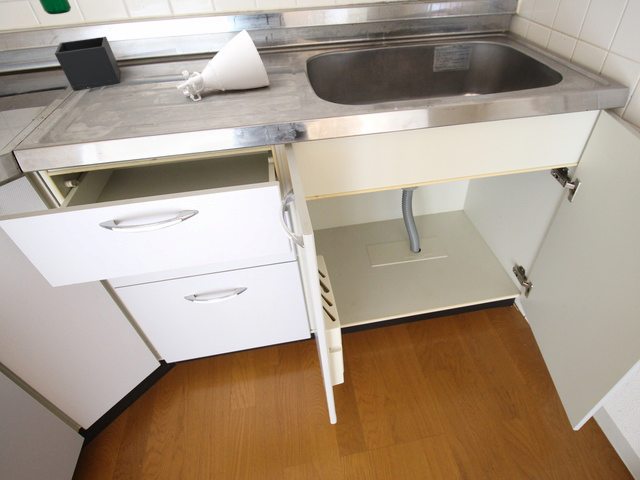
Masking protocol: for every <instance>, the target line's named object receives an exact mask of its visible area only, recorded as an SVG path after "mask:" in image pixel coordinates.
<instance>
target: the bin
mask: <svg viewBox="0 0 640 480" xmlns="http://www.w3.org/2000/svg"><path fill="white" fill-rule="evenodd" d="M54 56H55V57H56V59H57V61H58V64H59V65H60V67H61V69H62V71H63V73H64V75H65V77H66V80H67V81H68V84H69V85H70V87H71V89H72V91H74V90H75V91H77V90H76V89H81V88H87V87H90V88H89V89H93V88H99V87H104V86H110V85H117V84H120V83H121V69H120V67H119V64H118V62H117V59H116V56H115V54H114V52H113V50H112V47H111V45H110V43H109V40H108V38H107V36H101V37H94V38H86V39H79V40H70V41H62V42H59V44H58V46H57V48H56V50H55V52H54ZM87 89H88V88H87ZM81 90H82V89H81Z"/></svg>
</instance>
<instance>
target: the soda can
mask: <svg viewBox="0 0 640 480" xmlns="http://www.w3.org/2000/svg"><path fill="white" fill-rule="evenodd" d="M38 1H39V4H40V5H41V8H42V10H43V11H44V12H45V13H46V14H48V15H62V14H67V13H69V12H70V11H71V9H72V5H71V4H70V2H69V0H38Z"/></svg>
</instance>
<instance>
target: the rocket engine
mask: <svg viewBox="0 0 640 480" xmlns="http://www.w3.org/2000/svg"><path fill="white" fill-rule="evenodd" d="M253 41H254V40H253V39H252V37H251V36H250V34H249V32H248V30H246V29H242V30H241V31H239V32H238V33H237V34H236V35H235V36H233V37H232V38H231V39H230V40H229V41H228V42H226V44H225V45H223V47H222V48H221V49H219V51H218V52H217V53H216V54H215V55H214V56H213V58H211V60H208V63H207V65H205V67H204V68H203V69H202V71H201V73H200V72H198V71H193V72H192V74H191V75H190V73H189V72H188V70H187V69H185V70H183V71H182V72H181V73H182V75H183V78H184V80H183V79H182V80H181V82H177V84H176V88H177V90H178V91H179V92H181V91H182V93H183V94H184V96H185V97H186V98H188V97H190V99H192V100H193V102H197V101H201V100H202V96H201V93H203V92H204V91H205V90H207V89H208V90H209V89H211V90H218V91H219V90H221V91H223V92H225V91H226V90H247V89H248V90H249V89H257V88H262V87H268V86H270V80H269V76H268V73H267V71H266V67H265V64H264V63H263V61H262V57H261V56H260V53H259V52H258V49H257V47H256V45H255V43H254V42H253ZM194 95H196V96H197V97H198V98H197V99H195V96H194Z"/></svg>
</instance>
